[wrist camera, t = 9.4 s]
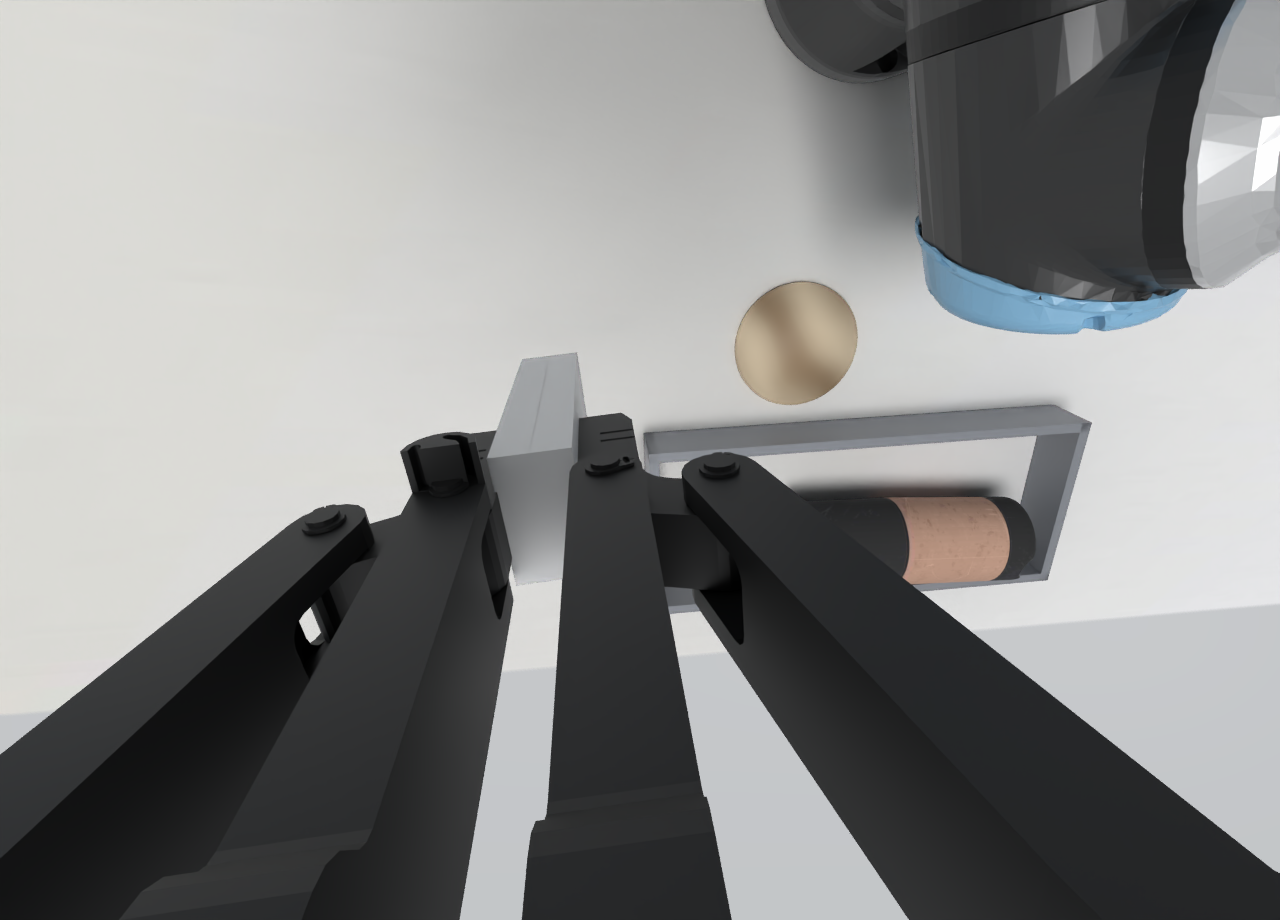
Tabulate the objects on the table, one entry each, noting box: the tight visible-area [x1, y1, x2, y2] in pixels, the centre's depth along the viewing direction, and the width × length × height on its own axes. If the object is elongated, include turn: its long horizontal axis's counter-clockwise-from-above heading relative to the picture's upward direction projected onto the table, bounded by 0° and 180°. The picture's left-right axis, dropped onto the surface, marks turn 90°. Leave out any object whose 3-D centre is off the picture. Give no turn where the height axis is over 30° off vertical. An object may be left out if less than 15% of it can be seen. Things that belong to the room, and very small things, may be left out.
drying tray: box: [644, 405, 1092, 614], centre depth 55 cm, size 37×16×4 cm, turn 92°
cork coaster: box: [735, 282, 858, 405], centre depth 50 cm, size 10×10×1 cm
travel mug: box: [806, 497, 1036, 584], centre depth 55 cm, size 8×8×20 cm
